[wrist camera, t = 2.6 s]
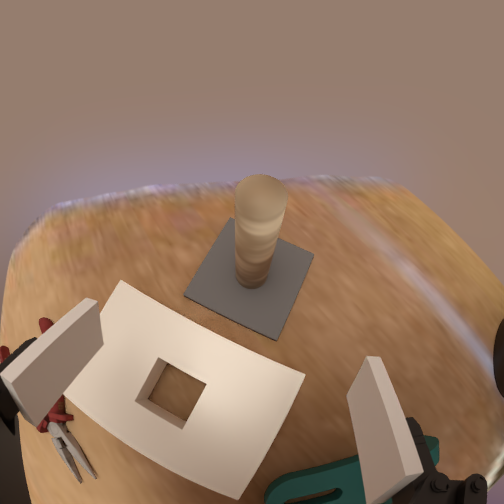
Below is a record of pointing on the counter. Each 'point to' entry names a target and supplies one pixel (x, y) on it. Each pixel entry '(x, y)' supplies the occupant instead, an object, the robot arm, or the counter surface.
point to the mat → (250, 300)
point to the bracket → (330, 482)
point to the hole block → (208, 406)
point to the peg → (257, 227)
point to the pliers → (58, 423)
